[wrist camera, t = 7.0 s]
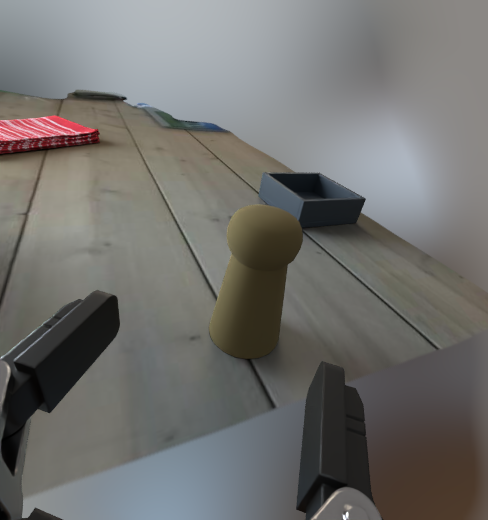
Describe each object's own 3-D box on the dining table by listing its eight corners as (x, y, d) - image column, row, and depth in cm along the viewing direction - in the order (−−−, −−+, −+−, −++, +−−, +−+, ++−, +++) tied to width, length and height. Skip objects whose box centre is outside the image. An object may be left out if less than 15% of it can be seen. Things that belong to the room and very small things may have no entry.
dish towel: (104, 142, 66) (103, 129, 65) (-22, 158, 48) (-27, 141, 46) (54, 125, 72) (52, 113, 71) (-74, 133, 54) (-81, 117, 52)
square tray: (356, 223, 50) (366, 198, 47) (296, 228, 44) (304, 201, 42) (312, 194, 58) (319, 172, 56) (258, 196, 53) (262, 172, 51)
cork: (291, 350, 25) (333, 232, 19) (221, 366, 22) (244, 237, 16) (261, 301, 29) (287, 194, 23) (200, 311, 27) (212, 194, 21)
